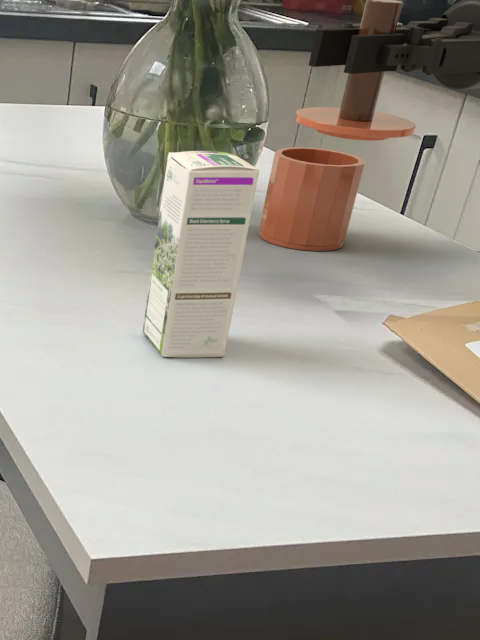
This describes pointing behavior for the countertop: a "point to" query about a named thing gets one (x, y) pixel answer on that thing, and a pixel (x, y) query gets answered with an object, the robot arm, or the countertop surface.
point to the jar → (310, 198)
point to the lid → (362, 91)
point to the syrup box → (198, 252)
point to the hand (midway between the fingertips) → (333, 51)
